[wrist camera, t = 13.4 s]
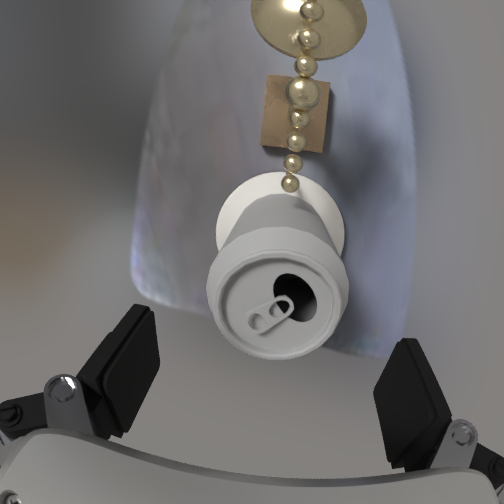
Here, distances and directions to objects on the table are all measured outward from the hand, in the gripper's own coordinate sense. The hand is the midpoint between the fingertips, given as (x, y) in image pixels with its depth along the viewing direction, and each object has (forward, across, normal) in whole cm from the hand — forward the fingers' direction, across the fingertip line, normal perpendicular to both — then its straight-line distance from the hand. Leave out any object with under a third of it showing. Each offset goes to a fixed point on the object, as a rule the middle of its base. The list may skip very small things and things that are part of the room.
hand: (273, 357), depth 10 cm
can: (+15, 0, +1) cm, 15 cm away
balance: (+17, 0, -11) cm, 20 cm away
